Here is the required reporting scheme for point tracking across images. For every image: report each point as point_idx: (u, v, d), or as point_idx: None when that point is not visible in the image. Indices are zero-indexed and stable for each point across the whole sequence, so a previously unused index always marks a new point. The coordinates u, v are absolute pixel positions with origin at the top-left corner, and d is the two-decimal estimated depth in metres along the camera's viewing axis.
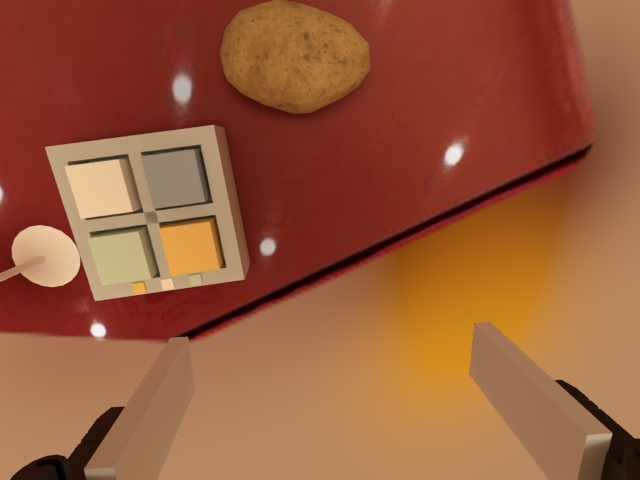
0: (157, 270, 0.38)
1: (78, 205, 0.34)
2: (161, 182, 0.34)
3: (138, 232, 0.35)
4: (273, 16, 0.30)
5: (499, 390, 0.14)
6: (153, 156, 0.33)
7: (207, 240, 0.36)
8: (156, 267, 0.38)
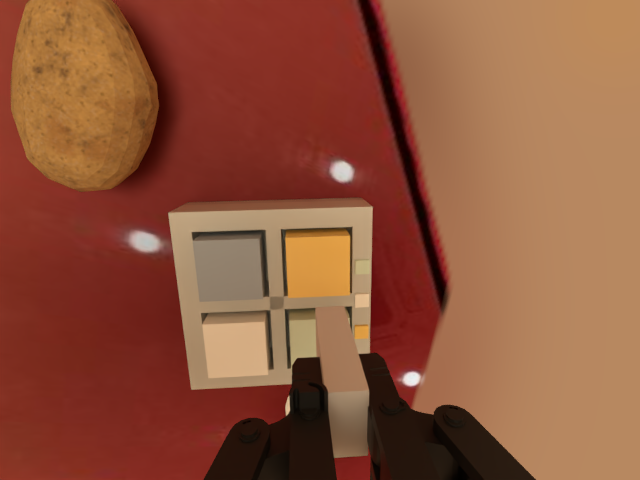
0: None
1: (253, 374, 0.30)
2: (231, 284, 0.28)
3: (290, 320, 0.29)
4: (22, 114, 0.23)
5: None
6: (200, 287, 0.28)
7: (309, 244, 0.27)
8: None
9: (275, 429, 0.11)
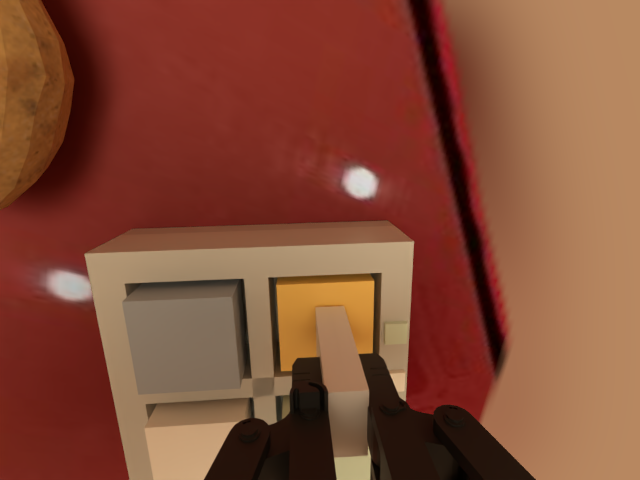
0: None
1: None
2: (188, 367, 0.17)
3: None
4: None
5: None
6: (138, 373, 0.17)
7: (313, 294, 0.18)
8: None
9: (275, 429, 0.11)
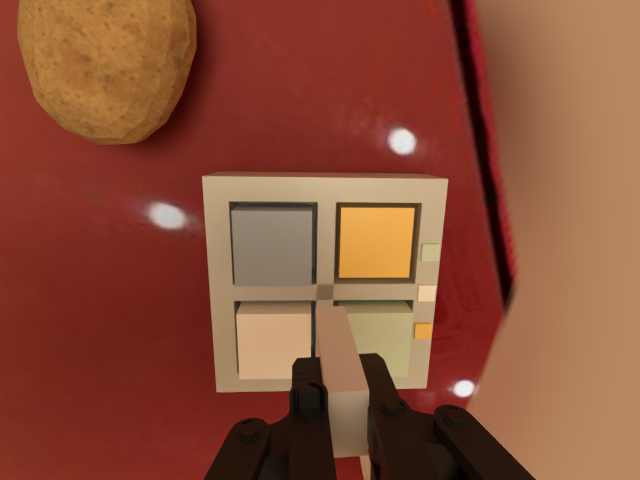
0: (402, 301, 0.26)
1: None
2: (274, 266, 0.23)
3: None
4: (31, 39, 0.19)
5: None
6: (236, 269, 0.23)
7: (368, 216, 0.24)
8: (398, 302, 0.26)
9: (275, 429, 0.11)
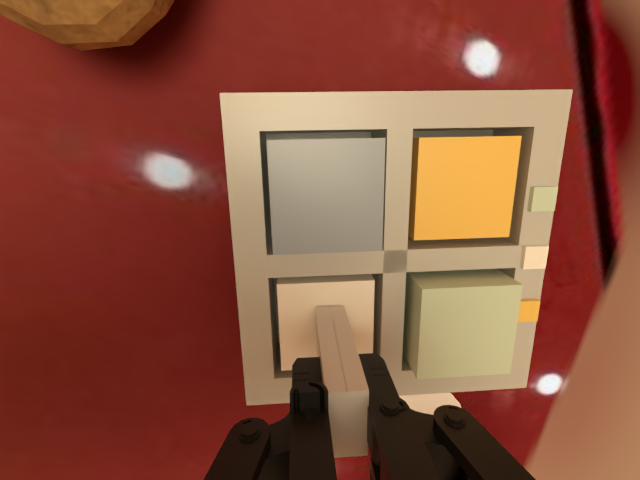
0: (497, 271, 0.19)
1: None
2: (330, 222, 0.16)
3: (423, 289, 0.17)
4: None
5: None
6: (275, 228, 0.16)
7: (456, 149, 0.17)
8: (491, 272, 0.19)
9: (275, 429, 0.11)
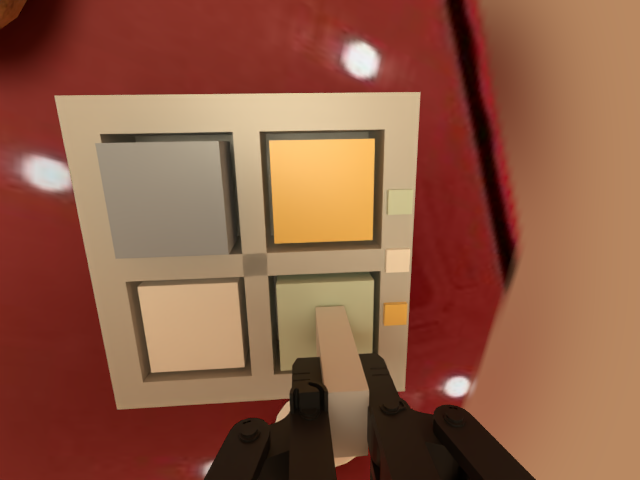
0: None
1: (221, 366, 0.19)
2: (171, 226, 0.16)
3: (278, 284, 0.18)
4: None
5: None
6: (114, 232, 0.16)
7: (309, 152, 0.17)
8: None
9: (275, 429, 0.11)
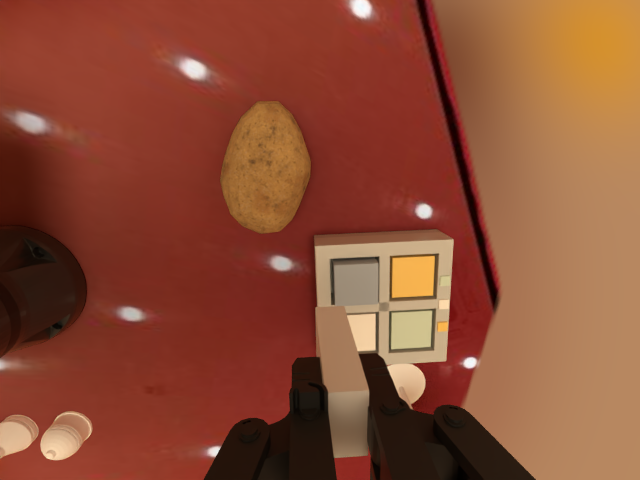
0: None
1: (365, 349, 0.44)
2: (357, 294, 0.41)
3: (392, 312, 0.43)
4: (236, 187, 0.36)
5: None
6: (336, 296, 0.41)
7: (408, 262, 0.42)
8: None
9: (275, 429, 0.11)
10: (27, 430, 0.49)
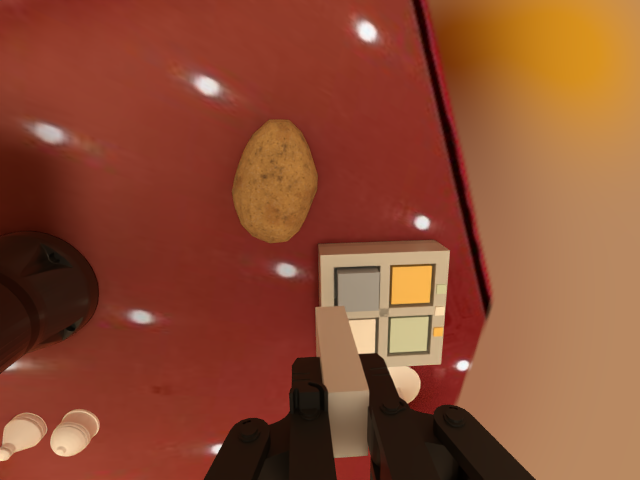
0: None
1: (365, 353, 0.47)
2: (359, 300, 0.43)
3: (391, 318, 0.46)
4: (248, 200, 0.39)
5: None
6: (339, 303, 0.43)
7: (407, 271, 0.44)
8: None
9: (275, 429, 0.11)
10: (36, 427, 0.51)
